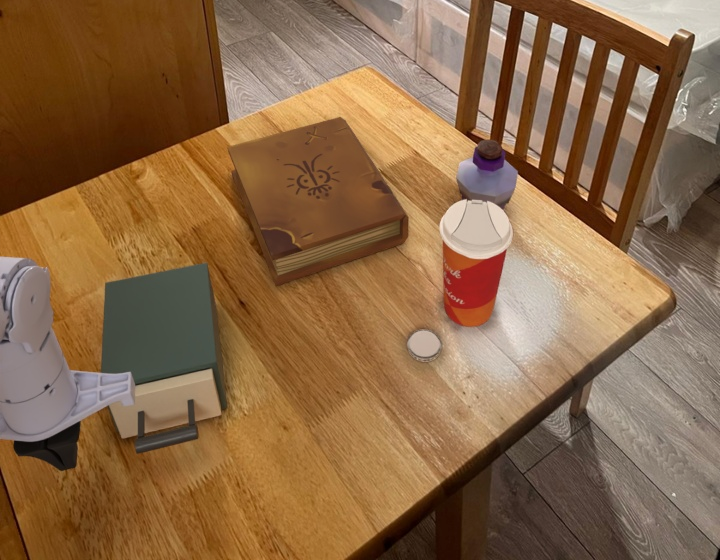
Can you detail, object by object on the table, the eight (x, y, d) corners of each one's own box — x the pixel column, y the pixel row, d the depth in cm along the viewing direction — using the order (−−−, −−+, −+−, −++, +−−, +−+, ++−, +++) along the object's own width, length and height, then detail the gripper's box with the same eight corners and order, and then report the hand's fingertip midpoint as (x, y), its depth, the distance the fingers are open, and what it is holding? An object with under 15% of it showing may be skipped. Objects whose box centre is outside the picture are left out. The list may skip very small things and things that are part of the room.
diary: (408, 242, 99) (408, 212, 96) (275, 286, 93) (271, 255, 90) (346, 143, 116) (345, 114, 113) (232, 174, 111) (227, 145, 108)
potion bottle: (525, 206, 104) (534, 141, 97) (495, 242, 99) (503, 176, 92) (472, 181, 108) (478, 117, 102) (441, 215, 103) (444, 150, 96)
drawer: (225, 452, 75) (216, 416, 71) (120, 478, 73) (105, 442, 69) (212, 320, 88) (204, 283, 84) (124, 339, 86) (111, 302, 82)
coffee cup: (436, 277, 94) (441, 192, 85) (501, 283, 93) (513, 198, 84) (432, 332, 87) (437, 246, 79) (502, 340, 86) (515, 253, 78)
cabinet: (227, 408, 80) (216, 361, 75) (118, 434, 78) (99, 387, 73) (216, 308, 91) (207, 262, 86) (120, 329, 89) (105, 282, 84)
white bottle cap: (443, 335, 87) (443, 332, 86) (438, 364, 84) (438, 361, 83) (410, 329, 88) (410, 325, 87) (404, 357, 84) (404, 354, 84)
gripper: (120, 310, 63) (150, 400, 71) (-61, 348, 60) (-9, 436, 68) (118, 383, 57) (151, 471, 65) (-81, 428, 55) (-23, 514, 62)
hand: (69, 458), depth 66 cm, fingers closed
